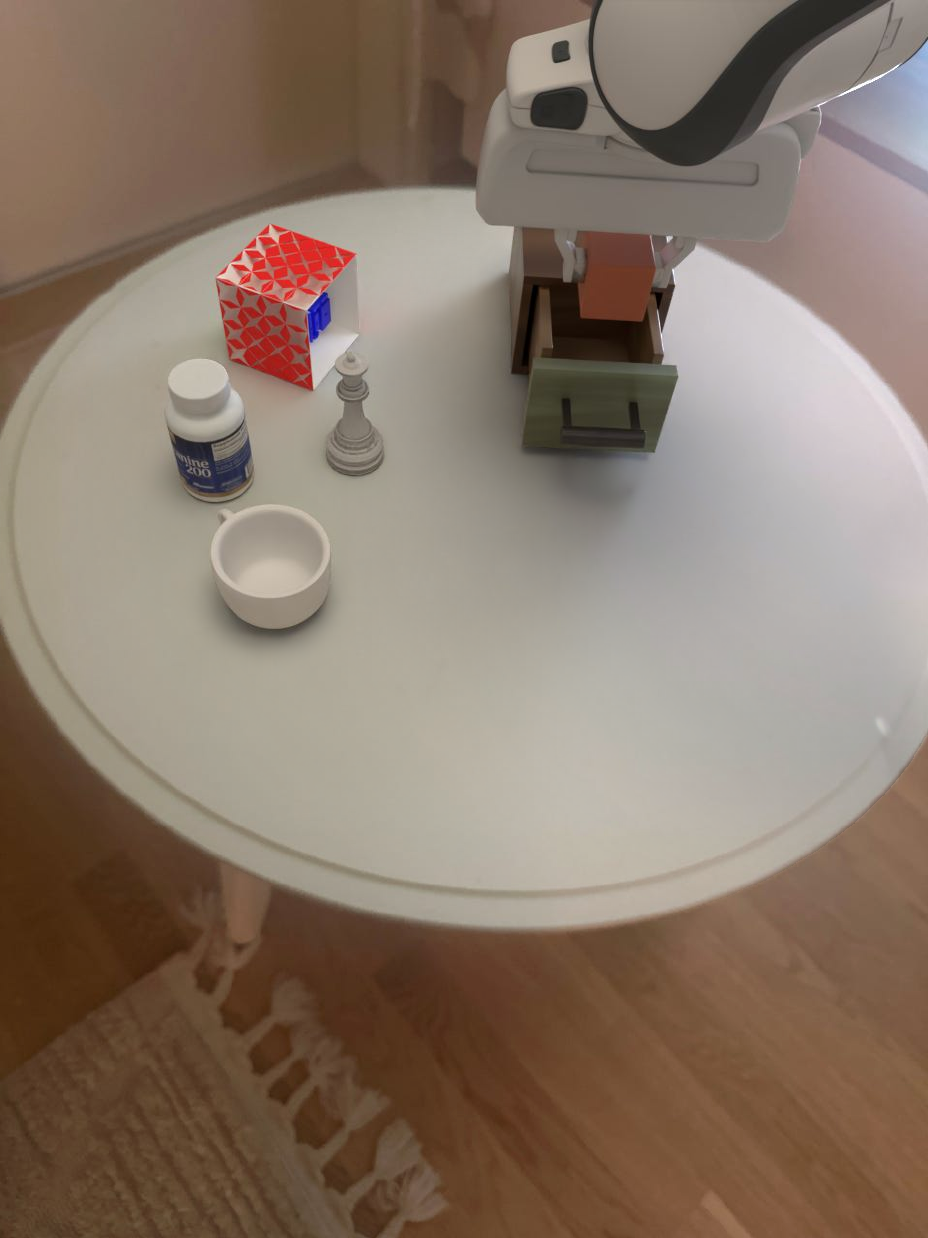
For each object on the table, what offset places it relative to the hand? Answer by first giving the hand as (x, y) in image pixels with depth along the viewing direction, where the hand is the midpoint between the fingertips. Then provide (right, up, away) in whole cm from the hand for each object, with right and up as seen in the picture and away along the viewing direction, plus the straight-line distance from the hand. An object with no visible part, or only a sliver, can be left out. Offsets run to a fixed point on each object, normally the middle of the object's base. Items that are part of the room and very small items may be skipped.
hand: (613, 279), depth 69 cm
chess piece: (-19, -11, +7) cm, 23 cm away
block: (0, -1, +1) cm, 2 cm away
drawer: (-1, -7, +10) cm, 12 cm away
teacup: (-24, -22, 0) cm, 32 cm away
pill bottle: (-29, -13, +5) cm, 32 cm away
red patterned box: (-25, -1, +14) cm, 28 cm away
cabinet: (-1, +2, +17) cm, 17 cm away
